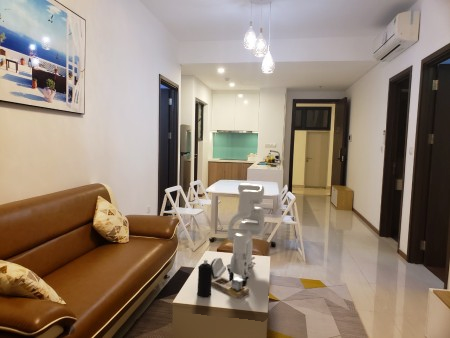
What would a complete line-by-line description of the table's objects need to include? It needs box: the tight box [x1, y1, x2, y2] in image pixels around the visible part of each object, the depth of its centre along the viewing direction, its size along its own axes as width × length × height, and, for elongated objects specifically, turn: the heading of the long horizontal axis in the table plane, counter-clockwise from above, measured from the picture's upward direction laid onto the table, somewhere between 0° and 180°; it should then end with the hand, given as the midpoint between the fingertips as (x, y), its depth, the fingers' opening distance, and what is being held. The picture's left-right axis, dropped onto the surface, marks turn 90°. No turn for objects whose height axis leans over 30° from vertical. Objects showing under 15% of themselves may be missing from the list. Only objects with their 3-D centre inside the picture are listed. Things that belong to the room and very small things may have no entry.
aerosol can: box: [196, 259, 213, 298], centre depth 174 cm, size 8×8×20 cm
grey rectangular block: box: [231, 276, 243, 293], centre depth 178 cm, size 5×5×8 cm
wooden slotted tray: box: [211, 276, 250, 300], centre depth 182 cm, size 9×22×3 cm, turn 48°
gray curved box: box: [209, 257, 227, 279], centre depth 203 cm, size 17×5×10 cm, turn 162°
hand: (237, 283), depth 178 cm, fingers open, 9 cm apart
